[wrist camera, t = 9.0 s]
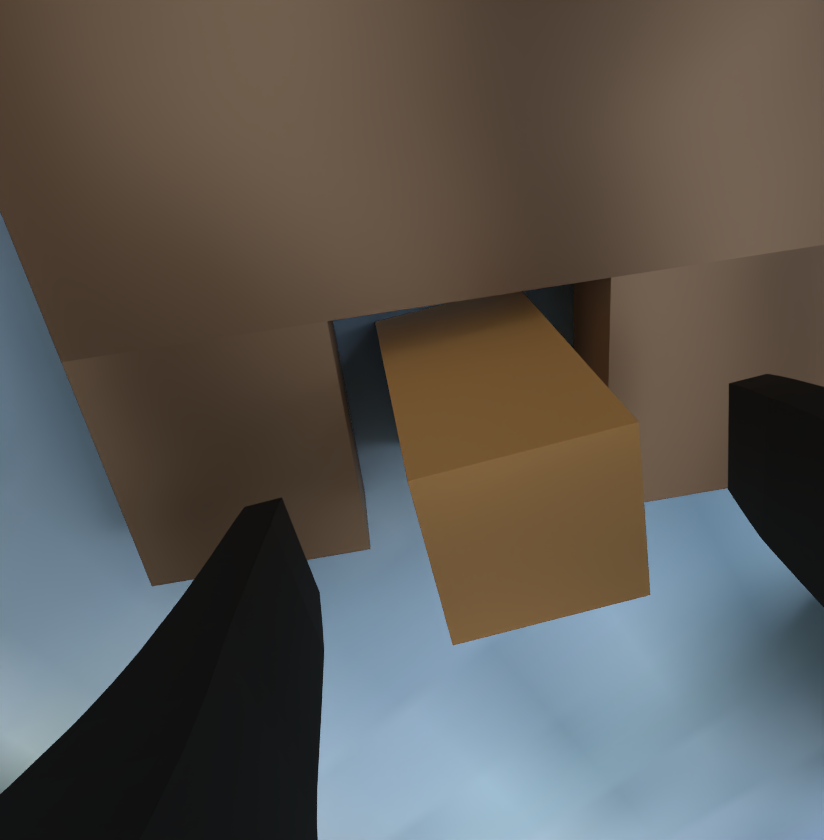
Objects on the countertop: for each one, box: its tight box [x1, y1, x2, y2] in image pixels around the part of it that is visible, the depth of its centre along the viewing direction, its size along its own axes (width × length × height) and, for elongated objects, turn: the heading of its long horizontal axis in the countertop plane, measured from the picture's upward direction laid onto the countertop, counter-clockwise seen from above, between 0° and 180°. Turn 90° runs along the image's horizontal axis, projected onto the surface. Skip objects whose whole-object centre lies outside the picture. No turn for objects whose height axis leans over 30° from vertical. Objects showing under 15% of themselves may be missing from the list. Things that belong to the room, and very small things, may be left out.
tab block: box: [375, 291, 650, 645], centre depth 12 cm, size 3×3×6 cm
